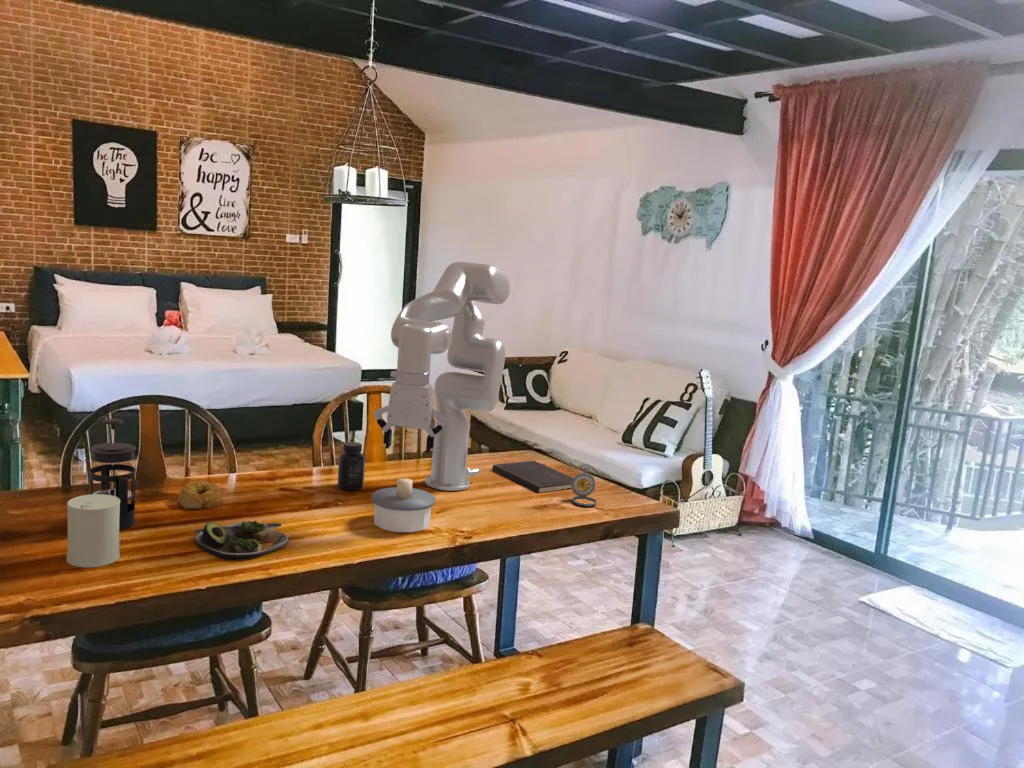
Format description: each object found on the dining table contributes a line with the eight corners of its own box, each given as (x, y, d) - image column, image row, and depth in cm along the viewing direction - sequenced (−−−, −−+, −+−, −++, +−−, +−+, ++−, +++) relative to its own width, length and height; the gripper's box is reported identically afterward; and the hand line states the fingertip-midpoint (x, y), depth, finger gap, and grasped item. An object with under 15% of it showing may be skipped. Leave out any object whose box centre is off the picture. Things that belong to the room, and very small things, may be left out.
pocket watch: (584, 508, 217) (588, 472, 215) (562, 499, 223) (566, 464, 222) (605, 504, 223) (609, 469, 221) (583, 495, 229) (587, 461, 227)
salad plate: (257, 521, 186) (258, 501, 186) (309, 543, 176) (310, 523, 176) (180, 541, 171) (181, 520, 170) (232, 567, 161) (233, 545, 160)
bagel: (167, 507, 189) (168, 487, 188) (194, 494, 200) (195, 475, 199) (206, 514, 187) (207, 494, 186) (231, 501, 198) (232, 482, 197)
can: (57, 566, 153) (57, 505, 151) (78, 547, 162) (79, 490, 160) (109, 569, 154) (109, 508, 152) (127, 550, 163) (127, 493, 161)
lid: (410, 487, 203) (412, 468, 202) (447, 504, 192) (449, 485, 192) (359, 495, 193) (360, 476, 192) (395, 514, 182) (396, 494, 181)
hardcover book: (533, 467, 255) (534, 460, 254) (581, 489, 237) (582, 481, 236) (491, 471, 245) (492, 464, 245) (538, 495, 227) (539, 487, 227)
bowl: (409, 510, 203) (411, 488, 202) (439, 526, 193) (441, 504, 192) (363, 517, 194) (365, 495, 193) (393, 535, 185) (394, 512, 184)
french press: (80, 519, 176) (80, 416, 172) (125, 512, 183) (127, 412, 179) (99, 536, 168) (100, 428, 164) (145, 528, 175) (147, 424, 171)
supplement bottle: (366, 485, 219) (369, 442, 217) (359, 493, 212) (362, 448, 210) (341, 482, 219) (344, 439, 217) (333, 489, 213) (336, 445, 210)
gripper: (372, 377, 185) (368, 449, 188) (447, 385, 184) (442, 457, 187) (380, 371, 192) (376, 441, 195) (452, 378, 191) (447, 448, 194)
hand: (408, 449), depth 191 cm, fingers open, 9 cm apart
